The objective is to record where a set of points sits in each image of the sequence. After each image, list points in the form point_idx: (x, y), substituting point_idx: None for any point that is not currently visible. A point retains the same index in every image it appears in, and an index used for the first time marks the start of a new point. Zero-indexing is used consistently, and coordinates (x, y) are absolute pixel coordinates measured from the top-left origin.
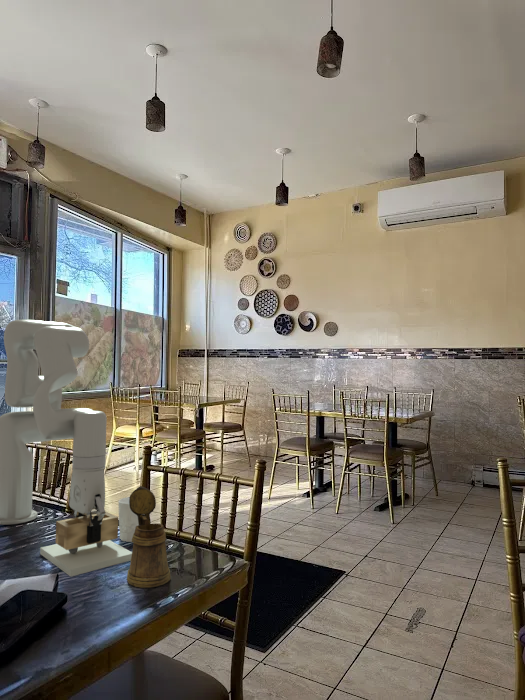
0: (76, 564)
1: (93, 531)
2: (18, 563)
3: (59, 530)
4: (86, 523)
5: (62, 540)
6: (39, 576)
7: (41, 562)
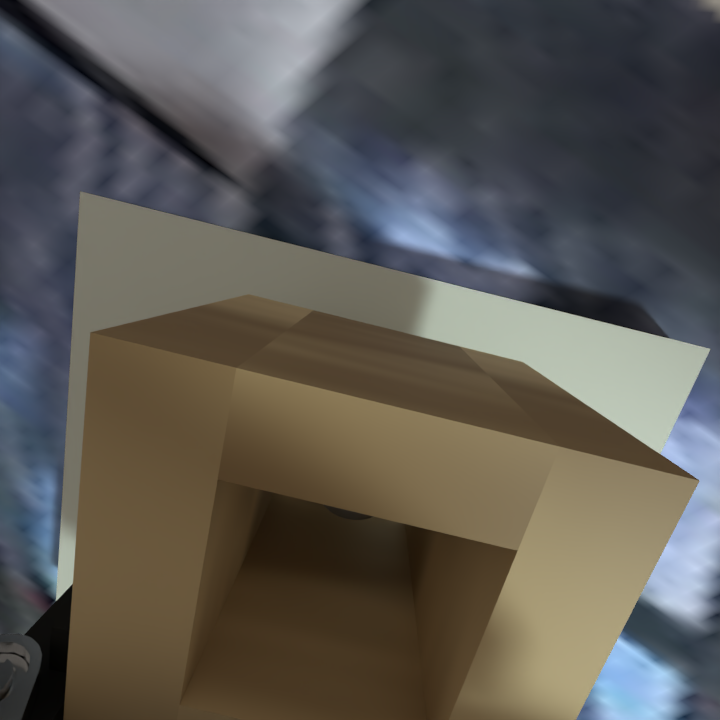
0: (144, 283)
1: (62, 602)
2: (663, 117)
3: (464, 382)
4: (74, 673)
5: (348, 332)
6: (291, 61)
7: (518, 242)
